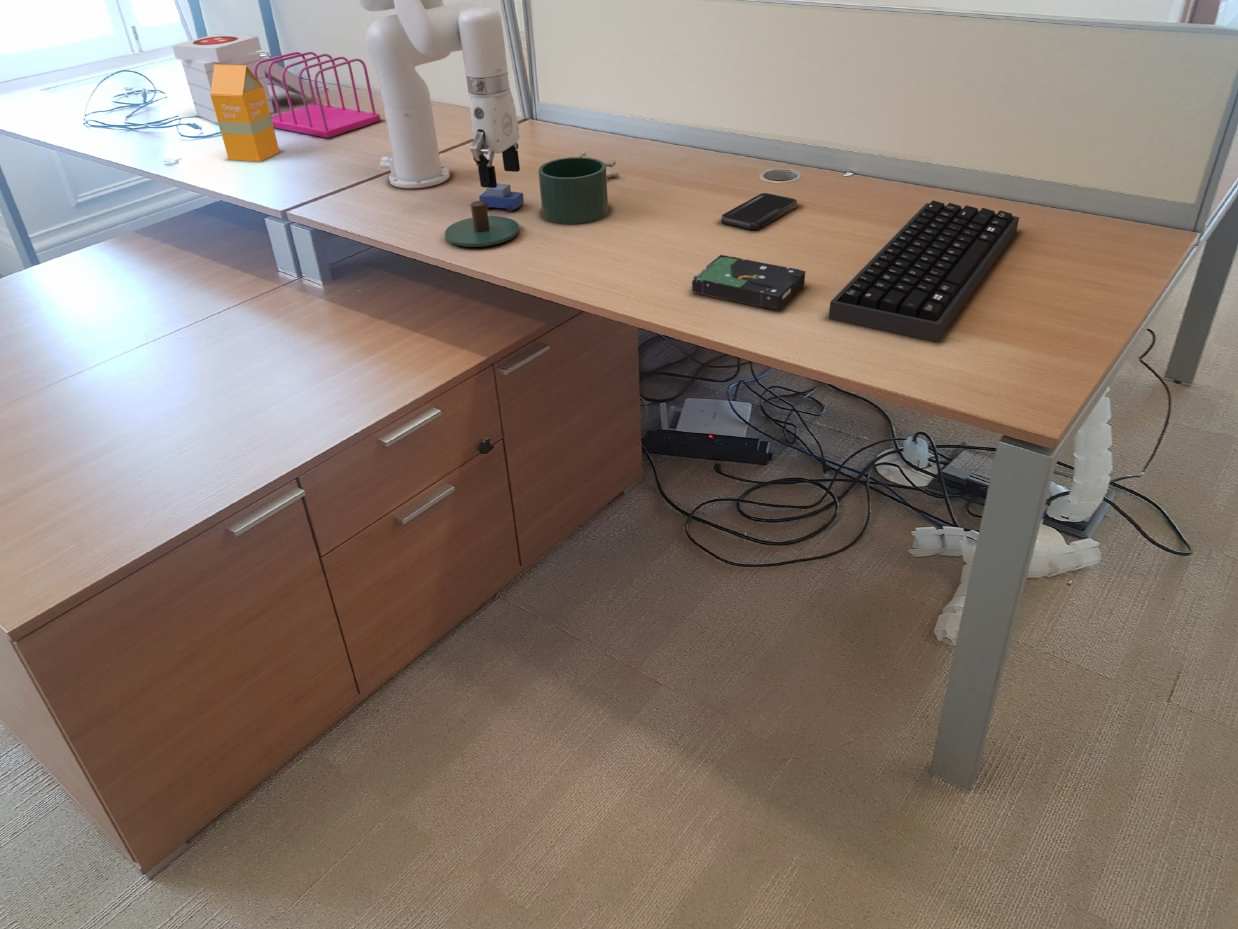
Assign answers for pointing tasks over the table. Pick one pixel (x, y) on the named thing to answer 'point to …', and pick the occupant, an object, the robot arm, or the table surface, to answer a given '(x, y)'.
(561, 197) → the tin
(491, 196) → the toy car
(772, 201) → the phone
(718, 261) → the disk drive
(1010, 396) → the table surface
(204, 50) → the pizza boxes
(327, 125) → the file sorter
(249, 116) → the orange juice
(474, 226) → the lid
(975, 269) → the computer keyboard
